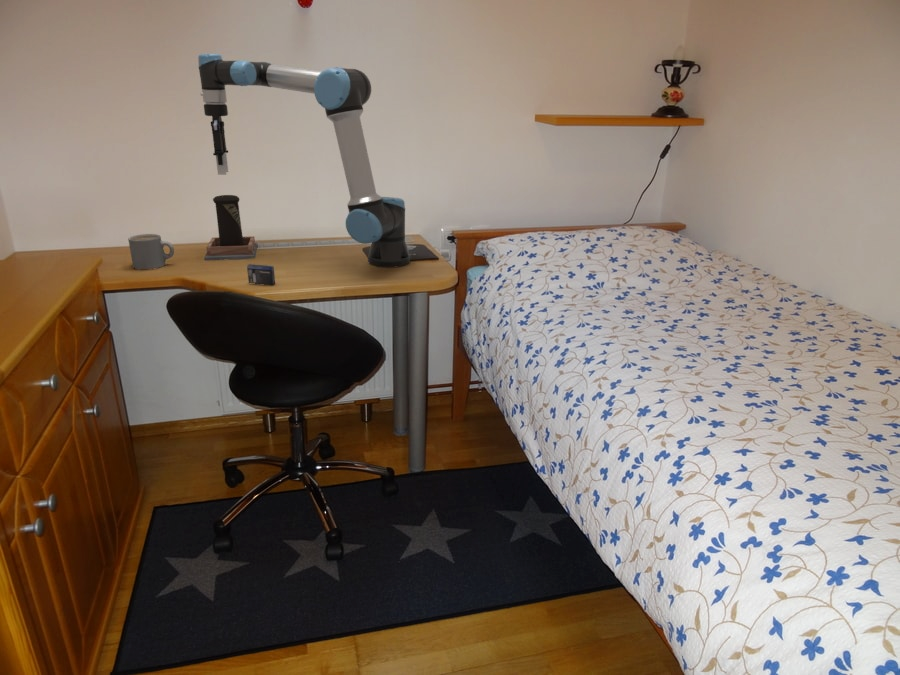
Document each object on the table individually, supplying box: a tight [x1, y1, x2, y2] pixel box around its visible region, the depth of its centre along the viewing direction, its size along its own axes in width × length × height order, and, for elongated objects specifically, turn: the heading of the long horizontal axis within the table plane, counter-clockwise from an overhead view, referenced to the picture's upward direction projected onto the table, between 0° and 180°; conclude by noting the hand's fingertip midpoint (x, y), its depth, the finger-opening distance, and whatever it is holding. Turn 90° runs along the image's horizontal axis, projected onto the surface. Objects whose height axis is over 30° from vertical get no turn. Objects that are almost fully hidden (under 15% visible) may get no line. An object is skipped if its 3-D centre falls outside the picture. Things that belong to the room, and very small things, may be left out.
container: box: [212, 194, 244, 246], centre depth 226 cm, size 9×9×20 cm
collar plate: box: [203, 236, 259, 261], centre depth 229 cm, size 20×17×4 cm
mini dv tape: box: [246, 263, 276, 286], centre depth 195 cm, size 8×2×6 cm, turn 80°
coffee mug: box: [128, 233, 175, 270], centre depth 210 cm, size 13×10×10 cm
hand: (223, 173), depth 219 cm, fingers open, 6 cm apart
